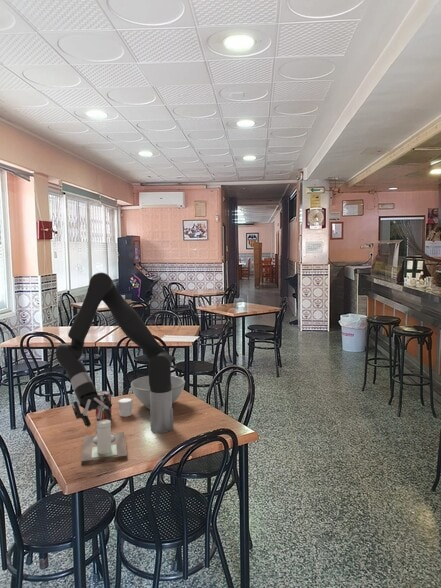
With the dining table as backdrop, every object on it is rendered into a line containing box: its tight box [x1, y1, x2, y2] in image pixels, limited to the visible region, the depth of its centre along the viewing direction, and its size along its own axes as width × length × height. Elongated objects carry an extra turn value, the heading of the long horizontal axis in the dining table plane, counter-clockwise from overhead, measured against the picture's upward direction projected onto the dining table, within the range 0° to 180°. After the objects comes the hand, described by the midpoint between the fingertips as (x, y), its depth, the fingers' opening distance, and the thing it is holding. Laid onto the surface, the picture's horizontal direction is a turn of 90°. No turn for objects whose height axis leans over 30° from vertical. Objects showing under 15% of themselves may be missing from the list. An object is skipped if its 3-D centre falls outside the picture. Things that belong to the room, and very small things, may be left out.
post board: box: [80, 431, 128, 466], centre depth 164 cm, size 16×22×9 cm
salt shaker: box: [95, 419, 112, 454], centre depth 159 cm, size 5×5×11 cm
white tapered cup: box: [117, 397, 134, 418], centre depth 201 cm, size 7×7×7 cm
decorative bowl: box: [130, 374, 186, 410], centre depth 213 cm, size 27×27×12 cm
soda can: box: [95, 390, 112, 421], centre depth 196 cm, size 7×7×12 cm
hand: (99, 422), depth 160 cm, fingers open, 8 cm apart
